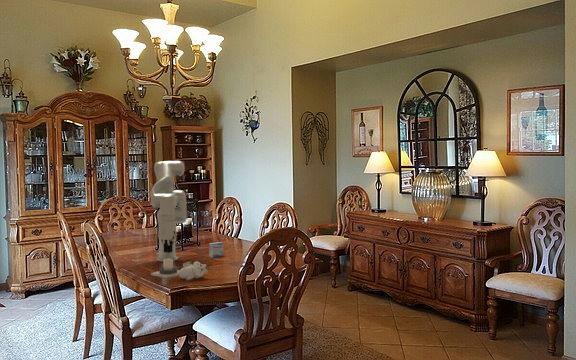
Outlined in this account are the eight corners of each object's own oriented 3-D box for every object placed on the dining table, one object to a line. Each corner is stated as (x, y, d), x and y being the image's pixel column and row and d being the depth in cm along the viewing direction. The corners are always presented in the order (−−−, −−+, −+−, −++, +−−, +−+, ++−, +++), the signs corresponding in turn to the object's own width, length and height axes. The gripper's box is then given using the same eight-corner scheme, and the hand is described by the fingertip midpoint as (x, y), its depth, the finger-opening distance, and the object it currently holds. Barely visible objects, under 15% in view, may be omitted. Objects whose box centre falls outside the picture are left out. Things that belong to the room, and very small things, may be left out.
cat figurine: (177, 262, 261) (205, 256, 267) (175, 267, 268) (203, 261, 274) (181, 280, 257) (210, 273, 263) (179, 284, 264) (207, 278, 270)
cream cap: (161, 272, 274) (161, 259, 274) (168, 270, 278) (168, 258, 278) (167, 273, 271) (167, 261, 271) (175, 272, 275) (174, 259, 275)
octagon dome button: (150, 274, 273) (150, 269, 273) (169, 270, 284) (169, 265, 284) (167, 278, 266) (167, 273, 266) (185, 273, 276) (185, 268, 276)
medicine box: (212, 257, 317) (212, 244, 317) (208, 256, 321) (208, 242, 320) (223, 256, 322) (223, 242, 321) (220, 255, 325) (219, 241, 325)
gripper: (152, 217, 275) (152, 251, 276) (172, 220, 265) (172, 255, 267) (162, 216, 281) (163, 249, 282) (183, 218, 272) (183, 252, 273)
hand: (168, 251), depth 274 cm, fingers closed
